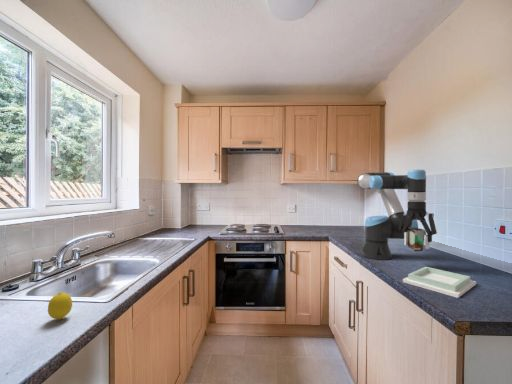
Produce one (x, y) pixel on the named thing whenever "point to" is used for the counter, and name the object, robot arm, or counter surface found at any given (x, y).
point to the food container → (416, 238)
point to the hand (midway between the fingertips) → (416, 246)
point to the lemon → (59, 306)
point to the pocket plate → (440, 281)
